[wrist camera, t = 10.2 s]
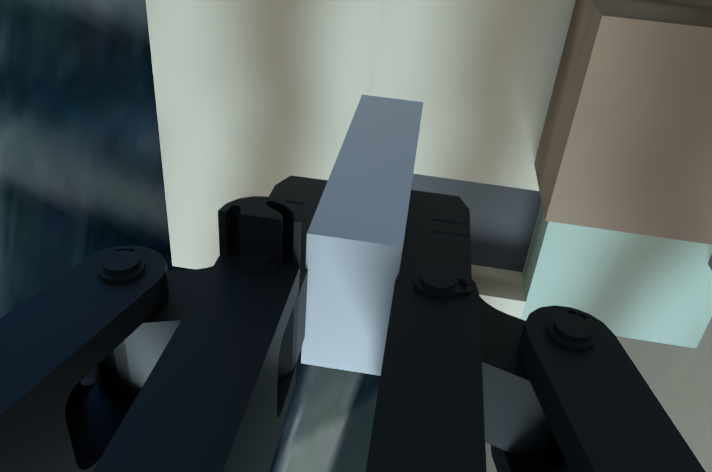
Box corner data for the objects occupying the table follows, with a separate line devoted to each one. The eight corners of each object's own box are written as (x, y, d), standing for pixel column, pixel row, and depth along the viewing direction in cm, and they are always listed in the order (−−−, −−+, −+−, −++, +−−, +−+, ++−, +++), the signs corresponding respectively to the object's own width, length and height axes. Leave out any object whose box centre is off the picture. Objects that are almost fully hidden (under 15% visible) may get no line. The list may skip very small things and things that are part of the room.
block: (534, 163, 22) (545, 221, 19) (579, -15, 19) (602, 15, 16) (709, 187, 22) (753, 250, 18) (787, 7, 18) (856, 43, 15)
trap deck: (193, 235, 29) (141, 308, 25) (150, -332, 19) (44, -389, 14) (678, 309, 27) (720, 404, 23) (946, -278, 17) (1127, -324, 12)
